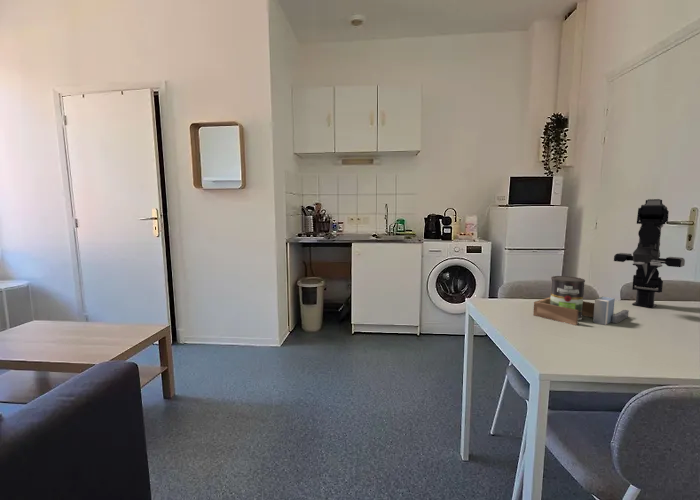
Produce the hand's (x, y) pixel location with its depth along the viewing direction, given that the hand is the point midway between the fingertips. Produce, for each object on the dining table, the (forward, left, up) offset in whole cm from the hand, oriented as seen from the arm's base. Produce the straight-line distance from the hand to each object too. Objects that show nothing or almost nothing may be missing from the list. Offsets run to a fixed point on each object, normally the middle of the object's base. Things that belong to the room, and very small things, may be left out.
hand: (645, 283), depth 127 cm
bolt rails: (+12, -6, -12) cm, 18 cm away
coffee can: (+23, -17, -12) cm, 31 cm away
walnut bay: (+23, -17, -12) cm, 31 cm away
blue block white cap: (+19, -6, -12) cm, 23 cm away
